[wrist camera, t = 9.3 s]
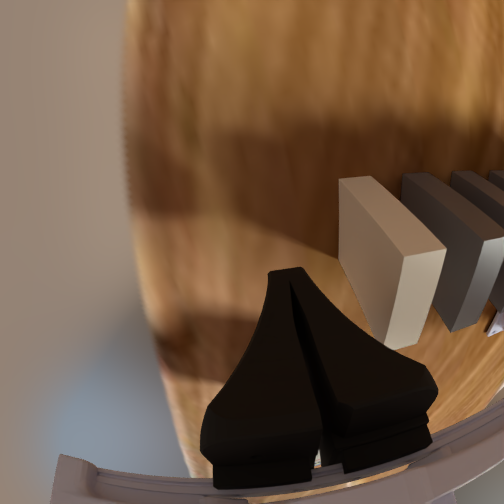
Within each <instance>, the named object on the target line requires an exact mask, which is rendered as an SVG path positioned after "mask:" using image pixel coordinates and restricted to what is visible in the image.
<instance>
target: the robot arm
mask: <svg viewBox="0 0 504 504" xmlns="http://www.w3.org/2000/svg"><path fill="white" fill-rule="evenodd" d="M502 330H503V331H504V312H503V313H501V314H500V313H499V312H497V314H496V316H495V318H494V320H493V321H492V323H491V325H490V327H489V329H488V331H487V333H486V334H487V336H491V335H493V334H496V333H498V332H500V331H502ZM437 395H438V387H437V385H436V383H435V381H434V379H433V377H432V375H431V374H430V372H429V371H428V369H427V368H426V366H425V365H423V364H421V363H419V362H417V361H414V360H412V359H410V358H408V357H405V356H403V355H401V354H399V353H397V352H396V351H394V350H392V349H390V348H388V347H387V346H385V345H384V344H382V343H381V342H379V341H377V340H376V339H374V338H373V337H371V336H370V335H368V334H367V333H366V332H364V331H363V330H362V329H360V328H359V327H358V326H357V325H355V324H354V323H353V322H352V321H351V320H349V319H348V318H347V317H346V316H345V315H344V314H343V313H342V312H341V311H340V310H339V309H337V308H336V307H335V306H334V305H333V304H332V303H331V302H330V300H329V299H328V298H327V297H326V296H325V295H324V294H323V293H322V292H321V291H320V289H319V288H318V287H317V286H316V285H315V283H314V282H313V281H312V280H311V278H310V277H309V276H308V274H307V273H306V271H305V270H304V269H303V268H302V267H295V268H288V269H282V270H275V271H270V272H269V273H268V286H267V292H266V297H265V301H264V305H263V309H262V312H261V315H260V318H259V321H258V324H257V327H256V330H255V332H254V334H253V337H252V339H251V341H250V343H249V345H248V347H247V349H246V351H245V353H244V355H243V357H242V359H241V361H240V362H239V364H238V366H237V367H236V369H235V370H234V372H233V373H232V375H231V376H230V378H229V379H228V381H227V382H226V384H225V385H224V386H223V388H222V389H221V390H220V392H219V393H218V394H217V395H216V396H215V398H214V399H213V400H212V401H211V403H210V404H209V405H208V406H207V409H206V412H205V415H204V419H203V423H202V427H201V434H200V451H201V453H202V455H203V456H204V457H205V458H206V459H207V460H208V461H209V462H210V463H211V464H212V465H213V478H178V477H162V476H150V475H142V474H134V473H126V472H119V471H113V470H108V469H102V468H97V467H96V466H95V465H94V464H92V463H90V462H88V461H86V460H82V459H79V458H75V457H71V456H66V455H63V454H60V455H59V458H58V463H57V467H56V473H55V477H54V483H53V489H52V495H51V501H50V504H248V500H246V499H237V498H243V497H259V496H270V495H279V494H288V493H295V492H302V491H308V490H314V489H319V488H324V487H329V486H334V485H338V484H343V483H347V482H351V481H355V480H359V479H362V478H366V477H370V476H373V475H376V474H380V473H383V472H386V471H389V470H392V469H395V468H398V467H401V466H404V465H406V464H409V463H411V464H409V466H408V468H407V469H406V470H404V471H402V472H399V473H396V474H393V475H390V476H387V477H384V478H381V479H378V480H374V481H371V482H367V483H363V484H359V485H355V486H351V487H347V488H343V489H339V490H334V491H330V492H326V493H321V494H316V495H311V496H306V497H300V498H295V499H289V500H283V501H276V502H269V503H261V504H457V502H456V498H455V495H454V490H456V489H458V488H460V487H462V486H463V485H465V484H467V483H469V482H471V481H472V480H474V479H476V478H477V477H479V476H480V475H482V474H484V473H486V472H487V471H489V470H490V469H492V468H493V467H495V466H496V465H498V464H499V463H501V462H502V461H504V398H503V399H501V400H499V401H498V402H496V403H494V404H492V405H491V406H489V407H487V408H485V409H483V410H482V411H480V412H478V413H476V414H474V415H472V416H470V417H468V418H466V419H464V420H462V421H460V422H458V423H456V424H454V425H452V426H449V427H447V428H445V429H443V430H440V431H438V432H436V433H433V434H431V435H430V432H429V429H428V427H427V424H428V422H429V418H428V416H427V413H426V412H427V410H428V409H429V408H430V406H431V405H432V403H433V402H434V401H435V399H436V397H437ZM318 451H319V452H320V459H321V467H320V468H315V469H314V465H315V460H316V455H318ZM414 461H415V462H414ZM412 462H413V463H412Z"/></svg>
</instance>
